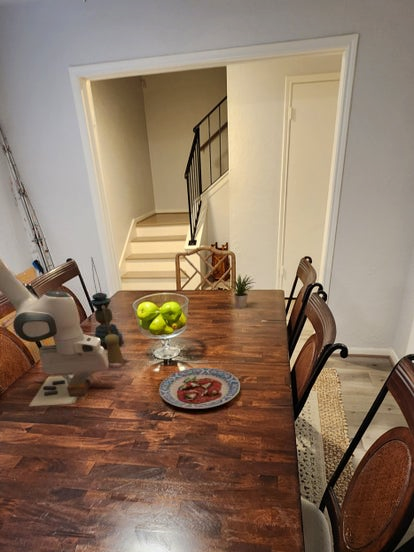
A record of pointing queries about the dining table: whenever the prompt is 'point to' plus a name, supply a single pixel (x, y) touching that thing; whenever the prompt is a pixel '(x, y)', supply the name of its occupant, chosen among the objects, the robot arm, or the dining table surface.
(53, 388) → the mark
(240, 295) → the house plant
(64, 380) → the mark
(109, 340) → the cork
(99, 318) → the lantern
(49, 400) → the board
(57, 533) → the dining table surface
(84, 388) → the eraser
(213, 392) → the ceramic plate
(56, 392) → the mark
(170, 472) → the dining table surface
